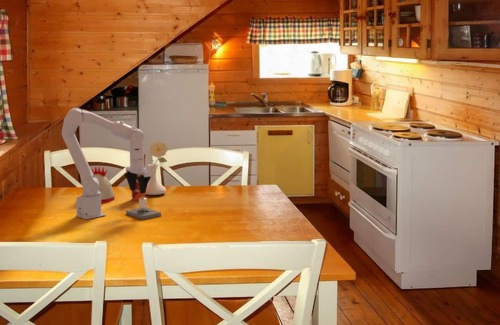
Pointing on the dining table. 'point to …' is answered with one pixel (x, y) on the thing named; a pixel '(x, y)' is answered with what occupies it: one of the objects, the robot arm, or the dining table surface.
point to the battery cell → (142, 205)
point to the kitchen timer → (104, 186)
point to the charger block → (143, 216)
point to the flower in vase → (157, 151)
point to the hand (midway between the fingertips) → (137, 191)
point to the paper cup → (137, 192)
